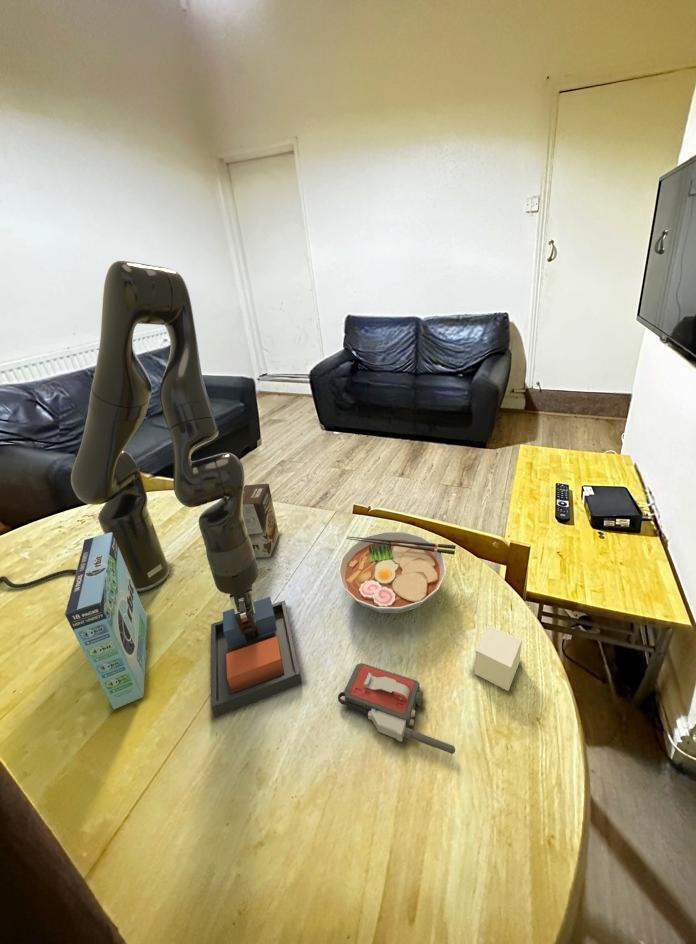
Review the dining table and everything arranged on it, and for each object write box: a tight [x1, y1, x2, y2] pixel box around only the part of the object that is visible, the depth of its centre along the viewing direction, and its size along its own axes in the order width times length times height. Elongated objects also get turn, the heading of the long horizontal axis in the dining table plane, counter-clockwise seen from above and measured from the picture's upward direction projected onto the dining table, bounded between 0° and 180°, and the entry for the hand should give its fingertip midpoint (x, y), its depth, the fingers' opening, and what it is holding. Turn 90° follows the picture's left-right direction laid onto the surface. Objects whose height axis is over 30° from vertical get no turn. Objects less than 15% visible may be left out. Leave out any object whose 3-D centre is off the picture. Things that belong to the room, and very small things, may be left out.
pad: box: [226, 636, 284, 693], centre depth 74 cm, size 9×5×4 cm, turn 111°
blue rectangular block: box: [222, 596, 277, 647], centre depth 79 cm, size 9×5×4 cm, turn 111°
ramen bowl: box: [337, 531, 457, 614], centre depth 89 cm, size 25×23×8 cm
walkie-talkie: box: [337, 662, 456, 755], centre depth 66 cm, size 9×4×20 cm
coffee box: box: [243, 483, 280, 559], centre depth 103 cm, size 9×6×16 cm
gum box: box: [64, 532, 148, 711], centre depth 74 cm, size 20×5×23 cm, turn 26°
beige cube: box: [474, 624, 523, 692], centre depth 72 cm, size 6×6×6 cm
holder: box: [210, 600, 303, 718], centre depth 77 cm, size 15×18×3 cm
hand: (251, 626), depth 80 cm, fingers closed on blue rectangular block, 5 cm apart
